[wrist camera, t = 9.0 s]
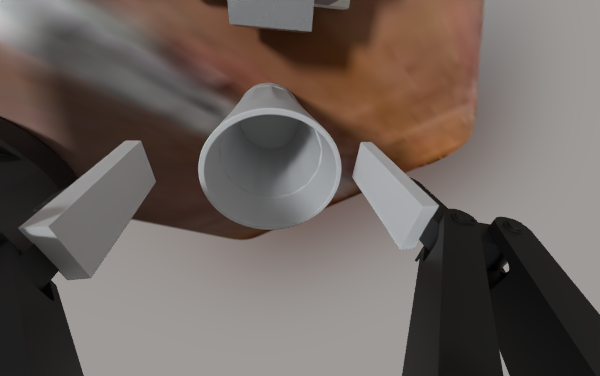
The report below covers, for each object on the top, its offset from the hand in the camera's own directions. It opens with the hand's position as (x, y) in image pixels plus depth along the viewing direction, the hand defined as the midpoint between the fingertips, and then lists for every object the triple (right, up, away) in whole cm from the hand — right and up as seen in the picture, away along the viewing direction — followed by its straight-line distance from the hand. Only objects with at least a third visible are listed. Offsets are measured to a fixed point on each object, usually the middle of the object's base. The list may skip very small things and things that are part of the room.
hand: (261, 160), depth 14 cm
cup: (-1, +6, +8) cm, 10 cm away
